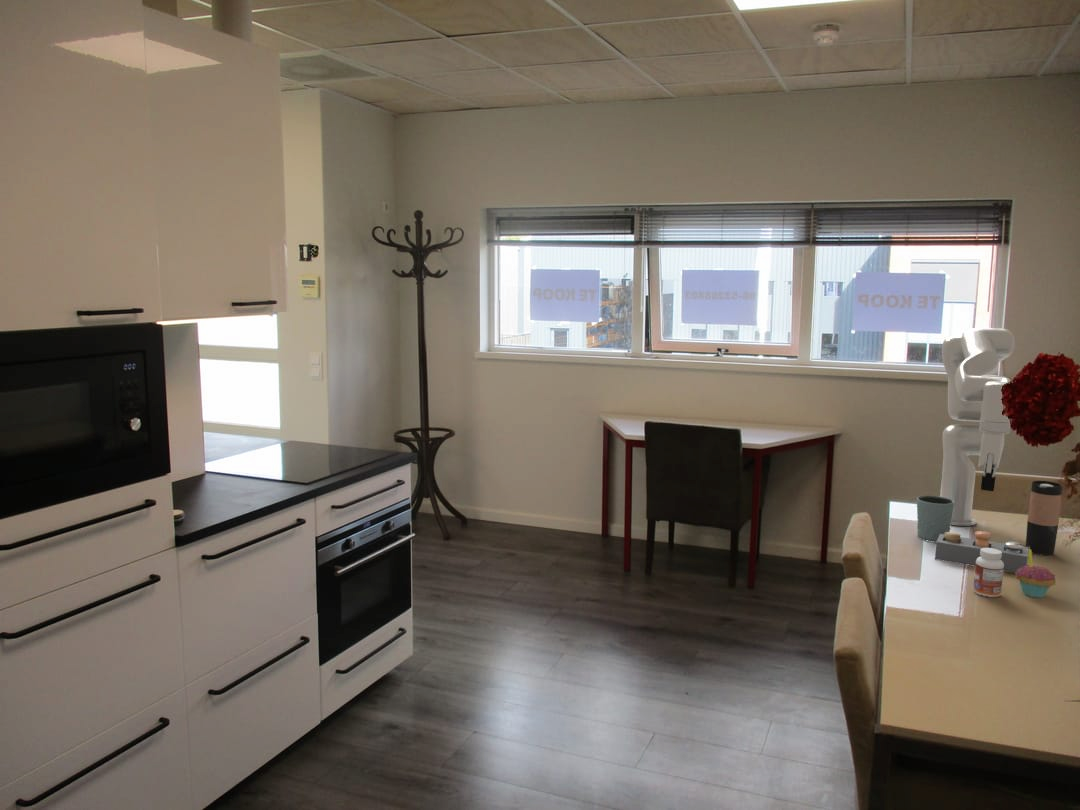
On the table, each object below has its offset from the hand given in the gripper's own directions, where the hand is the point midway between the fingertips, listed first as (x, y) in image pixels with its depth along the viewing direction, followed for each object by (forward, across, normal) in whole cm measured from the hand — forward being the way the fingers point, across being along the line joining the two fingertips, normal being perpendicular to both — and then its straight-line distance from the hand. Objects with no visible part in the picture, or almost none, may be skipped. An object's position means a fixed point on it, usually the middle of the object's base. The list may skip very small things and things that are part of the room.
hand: (987, 489), depth 235 cm
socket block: (+19, +8, +1) cm, 20 cm away
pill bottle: (+18, +33, +4) cm, 38 cm away
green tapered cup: (+20, -8, -13) cm, 26 cm away
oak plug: (+18, +8, -7) cm, 21 cm away
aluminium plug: (+18, +8, +8) cm, 21 cm away
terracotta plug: (+16, +8, +1) cm, 18 cm away
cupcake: (+18, +27, +14) cm, 35 cm away
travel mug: (+20, -13, +14) cm, 28 cm away
